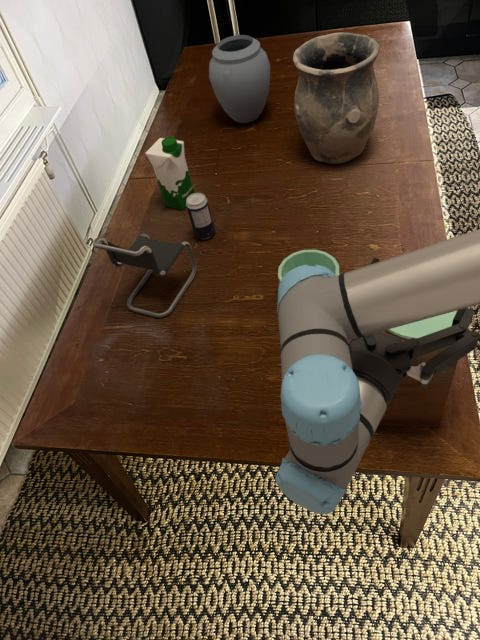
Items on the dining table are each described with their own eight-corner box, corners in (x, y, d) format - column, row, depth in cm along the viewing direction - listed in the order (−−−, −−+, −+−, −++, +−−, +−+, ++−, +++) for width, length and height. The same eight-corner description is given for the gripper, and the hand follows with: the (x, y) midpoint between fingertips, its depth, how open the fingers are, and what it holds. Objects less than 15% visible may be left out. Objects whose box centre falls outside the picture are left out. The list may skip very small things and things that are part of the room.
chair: (121, 310, 130) (88, 244, 113) (156, 261, 139) (130, 194, 122) (166, 321, 125) (139, 254, 108) (199, 271, 134) (178, 202, 117)
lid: (475, 343, 76) (489, 298, 68) (371, 343, 78) (373, 300, 71) (461, 270, 85) (472, 223, 77) (367, 272, 87) (369, 227, 80)
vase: (209, 116, 182) (193, 43, 164) (258, 96, 186) (248, 22, 167) (233, 140, 170) (220, 65, 151) (286, 118, 174) (279, 42, 155)
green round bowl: (339, 315, 118) (339, 292, 113) (279, 315, 121) (275, 293, 115) (339, 271, 127) (339, 248, 121) (283, 272, 129) (280, 250, 124)
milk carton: (185, 213, 150) (167, 152, 135) (159, 207, 154) (139, 147, 138) (200, 194, 155) (184, 133, 139) (175, 189, 158) (157, 128, 143)
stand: (445, 432, 97) (473, 341, 76) (367, 429, 100) (373, 341, 79) (436, 368, 106) (459, 271, 84) (365, 368, 109) (369, 273, 87)
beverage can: (219, 229, 143) (210, 193, 134) (209, 242, 140) (200, 207, 131) (200, 225, 146) (191, 190, 136) (191, 239, 143) (180, 204, 133)
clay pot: (302, 131, 167) (295, 32, 144) (377, 128, 162) (382, 25, 139) (294, 174, 154) (284, 73, 131) (375, 172, 148) (380, 67, 126)
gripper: (275, 371, 74) (341, 271, 84) (456, 449, 63) (507, 323, 73) (269, 339, 68) (341, 235, 78) (468, 418, 57) (521, 286, 67)
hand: (421, 278), depth 75 cm, fingers open, 13 cm apart
